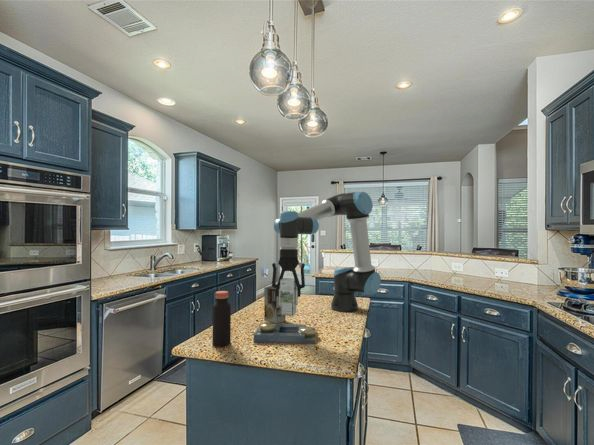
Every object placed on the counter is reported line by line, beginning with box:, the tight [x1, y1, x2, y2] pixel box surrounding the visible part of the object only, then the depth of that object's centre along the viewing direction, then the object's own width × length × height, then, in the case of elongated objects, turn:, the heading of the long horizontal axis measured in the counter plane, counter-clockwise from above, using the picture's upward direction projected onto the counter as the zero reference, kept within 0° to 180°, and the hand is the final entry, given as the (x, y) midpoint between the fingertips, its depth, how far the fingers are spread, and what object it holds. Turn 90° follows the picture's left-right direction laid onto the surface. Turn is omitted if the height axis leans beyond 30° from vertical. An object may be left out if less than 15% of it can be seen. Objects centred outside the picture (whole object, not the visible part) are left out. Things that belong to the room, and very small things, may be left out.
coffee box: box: [263, 285, 286, 324], centre depth 154 cm, size 9×6×16 cm
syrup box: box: [280, 277, 297, 317], centre depth 130 cm, size 6×6×14 cm
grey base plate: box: [268, 325, 317, 345], centre depth 129 cm, size 18×15×4 cm
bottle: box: [212, 290, 232, 348], centre depth 121 cm, size 7×7×20 cm
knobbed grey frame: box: [253, 321, 307, 344], centre depth 130 cm, size 20×15×5 cm
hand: (288, 304), depth 130 cm, fingers closed on syrup box, 6 cm apart
